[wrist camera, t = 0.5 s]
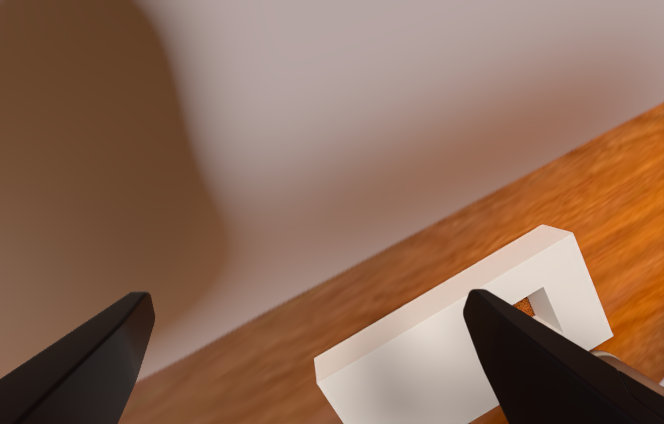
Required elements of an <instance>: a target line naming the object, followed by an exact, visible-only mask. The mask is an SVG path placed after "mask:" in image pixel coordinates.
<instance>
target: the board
mask: <svg viewBox="0 0 664 424" xmlns="http://www.w3.org/2000/svg"><path fill="white" fill-rule="evenodd" d="M472 289H486V290H488V291H489V292H491V293H493V294H494V295H496V296H498V297H499V298H501V299H503V300H504V301H506V302H507V303H509V304H511V305H513V304H515V303H517V302H518V301H520V300H522V299H523V298H525V297H527V298H528V300H529V302H530V304H531V307H532V309H533V311H534V313H535V316H533V317H532V318H534V319H536V320H537V321H539V322H541V323H542V324H544V325H546V326H547V327H549V328H551V329H552V330H554V331H556V332H557V333H559V334H560V335H562V336H564V337H565V338H567V339H569V340H570V341H572V342H574V343H575V344H577V345H579V346H580V347H582V348H584V349H585V350H587V351H589V350H591V349H593V348H594V347H596V346H598V345H599V344H601V343H603V342H604V341H606V340H608V339H609V338H611V337H613V334H612V331H611V329H610V326H609V324H608V321H607V319H606V316H605V313H604V311H603V308H602V306H601V303H600V301H599V298H598V295H597V293H596V290H595V288H594V285H593V283H592V280H591V278H590V275H589V272H588V270H587V267H586V265H585V262H584V260H583V257H582V254H581V252H580V249H579V247H578V244H577V242H576V239H575V237H574V234H573V233H572V232H569V231H565V230H561V229H558V228H554V227H550V226H546V225H543V224H542V225H540V226H539V227H537V228H535V229H534V230H532V231H530V232H529V233H527V234H525V235H523V236H522V237H520V238H518V239H517V240H515V241H513V242H512V243H510V244H508V245H506V246H505V247H503V248H501V249H500V250H498V251H496V252H494V253H493V254H491V255H489V256H488V257H486V258H484V259H483V260H481V261H479V262H477V263H476V264H474V265H472V266H471V267H469V268H467V269H466V270H464V271H462V272H460V273H459V274H457V275H455V276H454V277H452V278H450V279H448V280H447V281H445V282H443V283H442V284H440V285H438V286H437V287H435V288H433V289H431V290H430V291H428V292H426V293H425V294H423V295H421V296H419V297H418V298H416V299H414V300H413V301H411V302H409V303H408V304H406V305H404V306H402V307H401V308H399V309H397V310H396V311H394V312H392V313H391V314H389V315H387V316H385V317H384V318H382V319H380V320H379V321H377V322H375V323H373V324H372V325H370V326H368V327H367V328H365V329H363V330H362V331H360V332H358V333H356V334H355V335H353V336H351V337H350V338H348V339H346V340H345V341H343V342H341V343H339V344H338V345H336V346H334V347H333V348H331V349H329V350H327V351H326V352H324V353H322V354H321V355H319V356H317V357H316V358H314V362H315V370H316V379H317V384H318V386H319V387H320V389H321V390H322V392H323V393H324V395H325V396H326V398H327V399H328V401H329V402H330V404H331V405H332V407H333V408H334V410H335V411H336V413H337V414H338V416H339V417H340V419H341V420H342V422H343V423H344V424H468V423H470V422H471V421H473V420H475V419H476V418H478V417H480V416H481V415H483V414H485V413H486V412H488V411H490V410H491V409H493V408H495V407H496V406H498V405H500V404H499V402H498V400H497V398H496V396H495V394H494V392H493V389H492V387H491V385H490V383H489V381H488V379H487V377H486V375H485V373H484V371H483V368H482V366H481V364H480V361H479V359H478V356H477V353H476V351H475V348H474V345H473V342H472V340H471V337H470V334H469V331H468V329H467V326H466V323H465V321H464V318H463V308H464V305H465V302H466V300H467V297H468V294H469V292H470V291H471V290H472Z"/></svg>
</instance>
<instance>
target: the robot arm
mask: <svg viewBox="0 0 664 424" xmlns="http://www.w3.org/2000/svg"><path fill="white" fill-rule="evenodd" d="M463 318H464V321H465V323H466V326H467V329H468V331H469V334H470V337H471V340H472V342H473V345H474V348H475V351H476V353H477V356H478V359H479V361H480V364H481V366H482V368H483V371H484V373H485V375H486V377H487V379H488V381H489V383H490V385H491V387H492V389H493V392H494V394H495V396H496V398H497V400H498V402H499V404H500V406H501V408H502V410H503V412H504V414H505V416H506V418H507V421H508V423H509V424H664V396H662V395H660V394H659V393H657V392H655V391H654V390H652V389H650V388H649V387H647V386H645V385H643V384H642V383H640V382H638V381H637V380H635V379H633V378H632V377H630V376H628V375H627V374H625V373H624V372H622V371H620V370H617V369H616V368H615V367H613V366H612V365H610V364H609V363H607V362H605V361H604V360H602V359H600V358H599V357H597V356H595V355H594V354H592V353H590V352H589V351H587V350H585V349H584V348H582V347H580V346H579V345H577V344H575V343H574V342H572V341H570V340H569V339H567V338H565V337H564V336H562V335H560V334H559V333H557V332H556V331H554V330H552V329H551V328H549V327H547V326H546V325H544V324H542V323H541V322H539V321H537V320H536V319H534V318H532V317H531V316H529V315H527V314H526V313H524V312H522V311H521V310H519V309H517V308H516V307H514V306H512V305H511V304H509V303H507V302H506V301H504V300H503V299H501V298H499V297H498V296H496V295H494V294H493V293H491V292H489V291H488V290H486V289H472V290H471V291H470V292H469V294H468V297H467V300H466V302H465V305H464V308H463ZM154 321H155V313H154V308H153V304H152V299H151V295H150V293H149V292H146V291H138V292H137V291H135V292H130V293H129V294H127V295H126V296H124V297H122V298H121V299H119V300H118V301H116V302H115V303H113V304H112V305H110V306H109V307H107V308H106V309H104V310H103V311H101V312H100V313H98V314H97V315H95V316H94V317H93V318H91V319H89V320H88V321H86V322H85V323H83V324H82V325H80V326H79V327H77V328H76V329H74V330H73V331H71V332H70V333H68V334H67V335H65V336H64V337H62V338H61V339H60V340H58V341H57V342H55V343H53V344H52V345H50V346H49V347H47V348H46V349H44V350H43V351H41V352H40V353H38V354H37V355H36V356H34V357H32V358H31V359H29V360H28V361H26V362H25V363H23V364H22V365H20V366H19V367H17V368H16V369H14V370H13V371H11V372H10V373H8V374H7V375H5V376H4V377H2V378H1V379H0V424H118V422H119V419H120V417H121V415H122V413H123V410H124V408H125V406H126V403H127V401H128V399H129V397H130V394H131V392H132V390H133V387H134V385H135V382H136V380H137V377H138V374H139V370H140V368H141V364H142V361H143V358H144V355H145V351H146V348H147V345H148V342H149V339H150V336H151V332H152V329H153V326H154Z"/></svg>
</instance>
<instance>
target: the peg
mask: <svg viewBox="0 0 664 424" xmlns="http://www.w3.org/2000/svg"><path fill="white" fill-rule="evenodd" d="M590 353H592V354H594V355H595V356H597V357H599V358H600V359H602V360H604V361H605V362H607V363H609V364H610V365H612V366H613V367H615V368H616V369H617V370H620V371H622V372H624V373H625V374H627V375H628V376H630V377H632V378H633V379H635V380H637V381H638V382H640V383H642V384H643V385H645V386H647V387H649V388H650V389H652V390H654V391H655V392H657V393H659V394H660V395H662V396H664V387H662V386H661V385H659V384H658V383H656V382H655V381H653V380H651V379H650V378H648V377H646V376H645V375H643V374H642V373H640V372H638V371H637V370H635V369H633V368H632V367H630V366H629V365H627V364H625V363H624V362H622V361H621V360H620V359H618V358H617V357H615V356H613V355H612V354H610V353H608V352H606V351H601V350H595V351H590Z"/></svg>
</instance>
